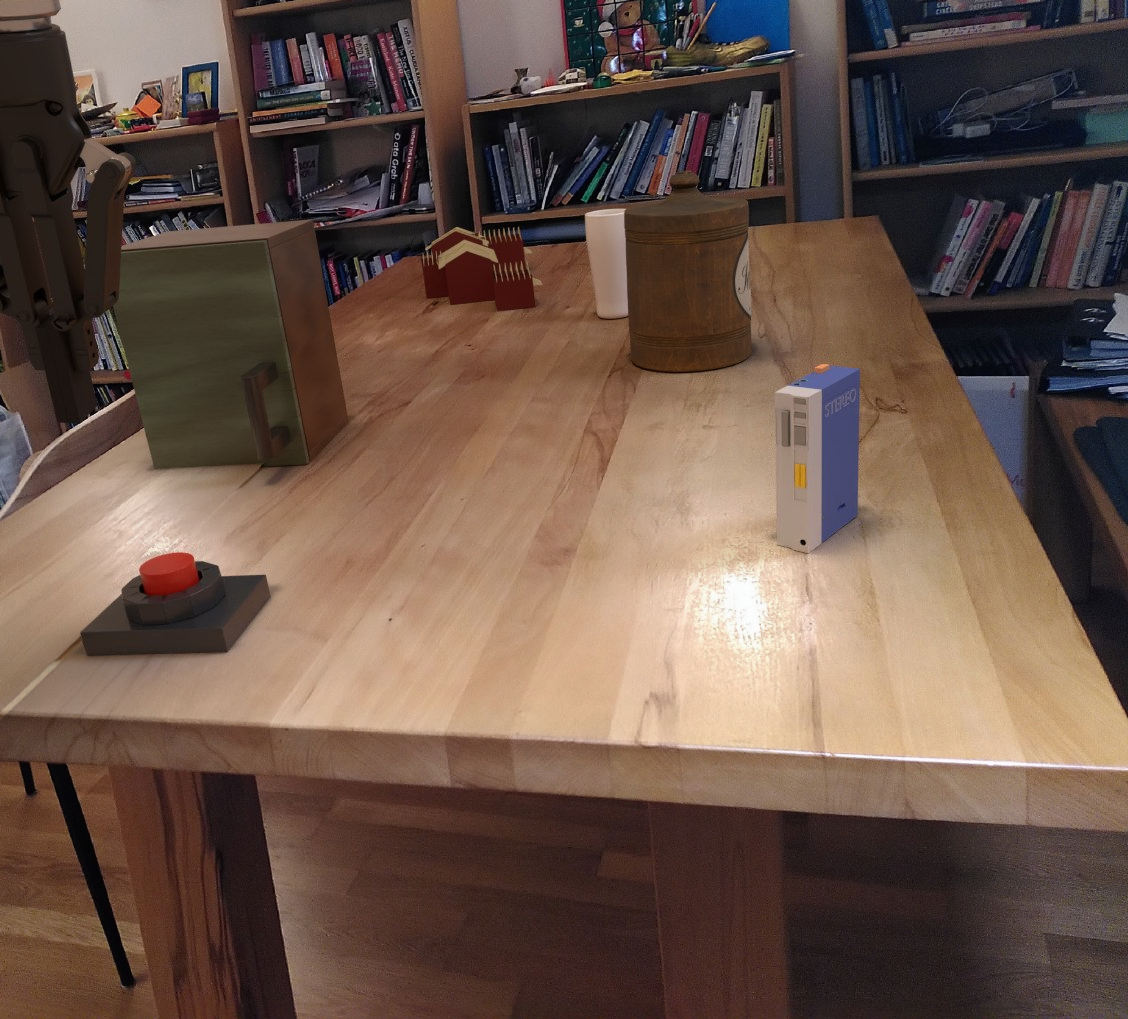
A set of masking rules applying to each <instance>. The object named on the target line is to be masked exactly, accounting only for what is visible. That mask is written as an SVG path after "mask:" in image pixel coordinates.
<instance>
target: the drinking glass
mask: <svg viewBox="0 0 1128 1019" xmlns="http://www.w3.org/2000/svg"><path fill="white" fill-rule="evenodd" d="M626 209H627V208H607V209H599V210H598V209H597V210H593V211H589V212H586V213H584V230H585V241H586V242H585V243H586V249H587V256H588V261H589V267H590V274H591V280H592V287H593V294H594V298H595V308H596V316H598V317H599V318H601V319H605V320H616V319H622V318H626V317H628V300H627V271H626V238H625V228H624V211H625V210H626Z"/></svg>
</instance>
